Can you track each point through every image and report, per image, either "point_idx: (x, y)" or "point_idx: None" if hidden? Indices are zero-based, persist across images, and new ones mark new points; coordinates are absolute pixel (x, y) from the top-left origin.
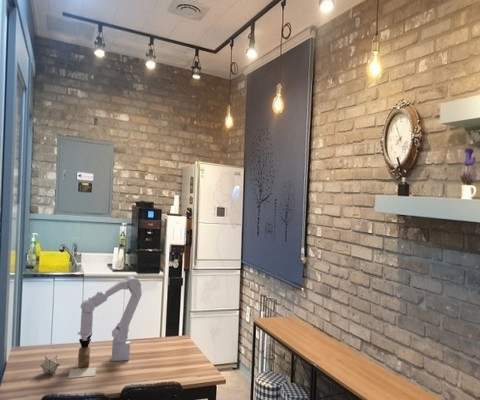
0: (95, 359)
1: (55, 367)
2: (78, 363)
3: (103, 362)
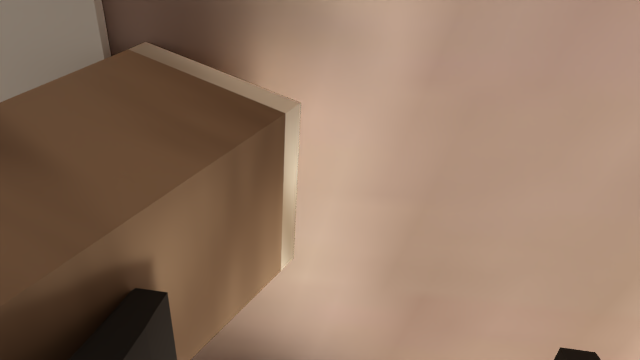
0: (498, 294)
1: None
2: (21, 98)
3: (338, 349)
